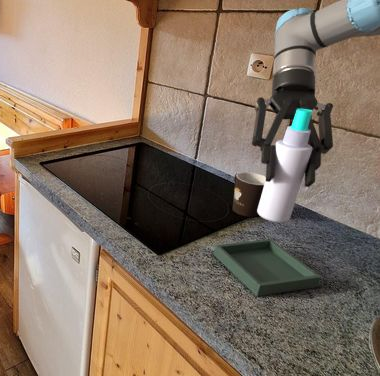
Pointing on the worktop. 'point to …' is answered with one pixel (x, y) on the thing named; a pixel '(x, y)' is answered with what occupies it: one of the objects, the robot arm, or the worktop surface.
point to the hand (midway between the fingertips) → (289, 181)
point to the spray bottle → (287, 170)
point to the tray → (266, 267)
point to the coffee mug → (247, 193)
